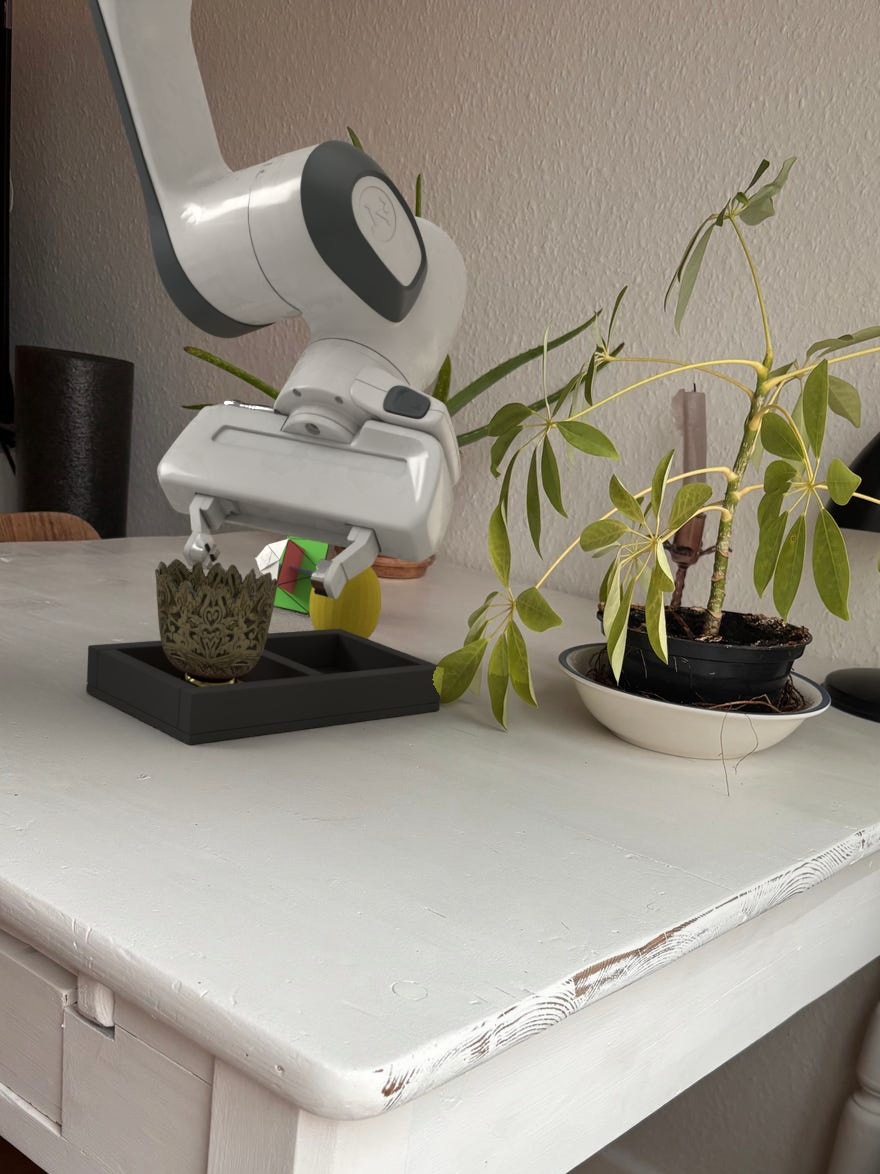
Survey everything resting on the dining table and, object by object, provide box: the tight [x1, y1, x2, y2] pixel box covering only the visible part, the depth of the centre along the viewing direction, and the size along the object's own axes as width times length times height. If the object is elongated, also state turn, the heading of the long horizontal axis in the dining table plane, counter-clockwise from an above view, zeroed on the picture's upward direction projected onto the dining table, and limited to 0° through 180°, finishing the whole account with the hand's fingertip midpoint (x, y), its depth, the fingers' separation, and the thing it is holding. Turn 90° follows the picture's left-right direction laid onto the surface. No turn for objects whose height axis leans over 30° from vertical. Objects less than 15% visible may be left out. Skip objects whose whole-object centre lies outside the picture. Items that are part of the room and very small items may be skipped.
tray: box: [86, 629, 442, 746], centre depth 85 cm, size 11×21×3 cm, turn 137°
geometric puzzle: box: [254, 534, 335, 616], centre depth 113 cm, size 7×7×8 cm
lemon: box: [309, 558, 382, 639], centre depth 100 cm, size 6×6×8 cm
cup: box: [154, 558, 277, 687], centre depth 80 cm, size 8×7×8 cm
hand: (257, 576), depth 83 cm, fingers open, 8 cm apart
